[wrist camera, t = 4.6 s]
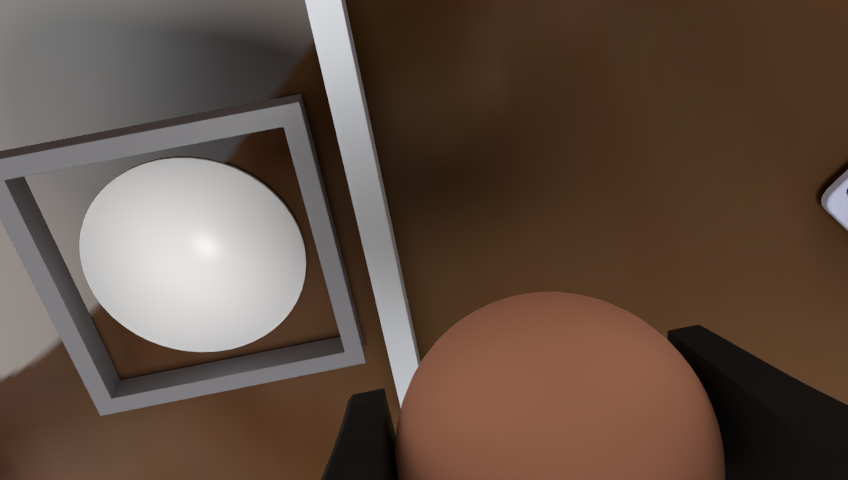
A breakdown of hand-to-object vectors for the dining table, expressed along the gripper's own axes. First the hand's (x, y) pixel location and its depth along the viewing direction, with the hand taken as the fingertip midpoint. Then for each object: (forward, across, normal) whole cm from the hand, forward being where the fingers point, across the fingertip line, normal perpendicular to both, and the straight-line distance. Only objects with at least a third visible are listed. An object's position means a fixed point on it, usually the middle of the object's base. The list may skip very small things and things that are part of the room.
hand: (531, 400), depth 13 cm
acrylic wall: (+10, +2, 0) cm, 10 cm away
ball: (-1, 0, 0) cm, 1 cm away
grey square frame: (+10, +9, 0) cm, 13 cm away
